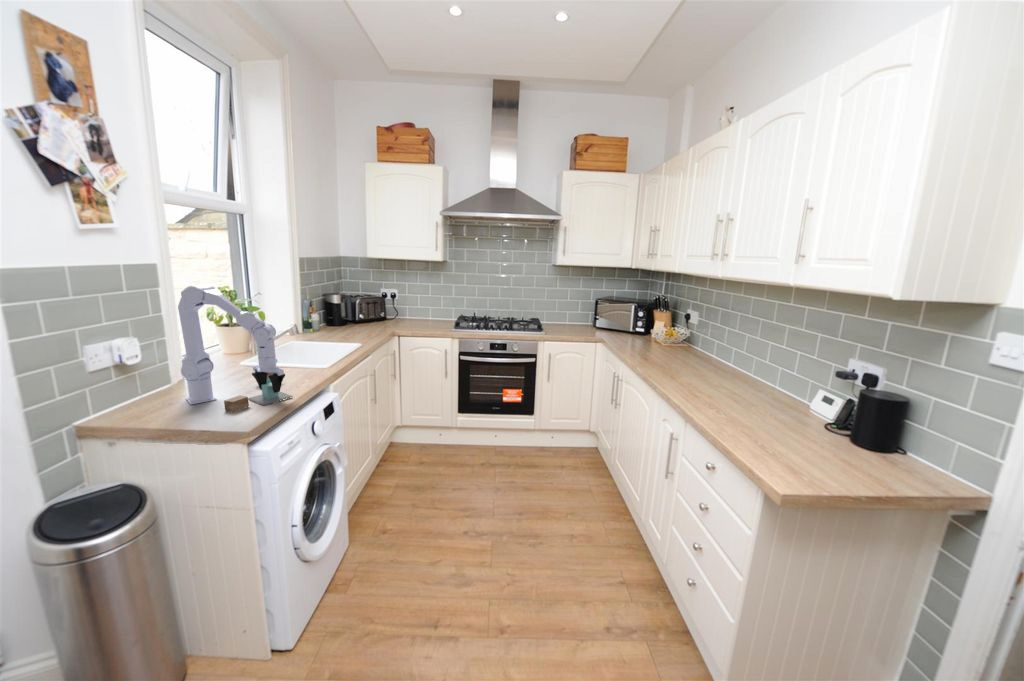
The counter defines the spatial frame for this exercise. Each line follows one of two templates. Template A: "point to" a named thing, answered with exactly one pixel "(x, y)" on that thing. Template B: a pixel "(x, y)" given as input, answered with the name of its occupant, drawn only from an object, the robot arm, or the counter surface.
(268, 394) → the teal block
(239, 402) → the walnut block
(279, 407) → the counter surface
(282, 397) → the slate coaster
